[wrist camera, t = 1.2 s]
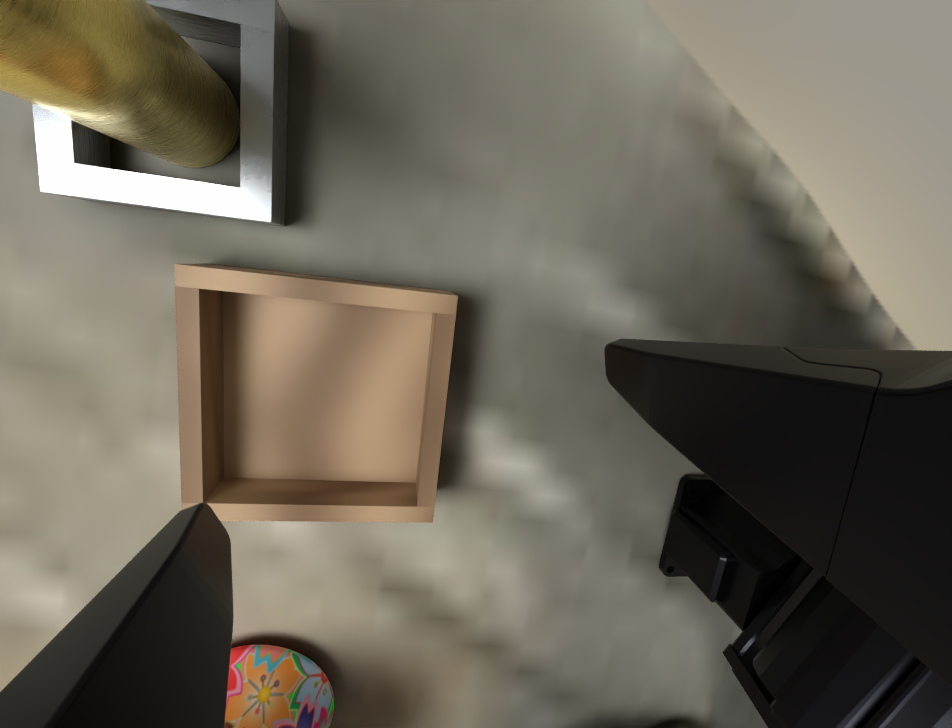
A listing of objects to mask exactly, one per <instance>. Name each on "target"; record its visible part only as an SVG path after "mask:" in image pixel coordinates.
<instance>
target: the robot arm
mask: <svg viewBox="0 0 952 728" xmlns="http://www.w3.org/2000/svg"><path fill="white" fill-rule="evenodd" d="M605 367H606V376H607V379H608V381H609V383H610V384H611V385H612V386H613V388H614V389H615V390H616V391H617V392H618V393H619V394H620V395H621V396H622V397H623V398H624V399H625V400H626V401H627V402H628V404H629V405H630V406H631V407H632V408H633V409H634V410H635V411H636V412H637V413H638V414H639V415H640V416H641V417H642V418H643V419H644V420H645V421H646V422H647V423H648V424H649V425H650V426H651V427H652V428H653V429H654V430H655V431H656V432H657V433H658V434H660V435H661V436H662V437H663V438H664V439H665V440H667V441H668V442H669V443H670V444H671V445H672V446H673V447H675V448H676V449H677V450H678V451H679V452H680V453H682V454H683V455H684V456H685V457H686V458H687V459H688V460H690V461H691V462H692V463H693V464H694V465H695V466H697V467H698V468H699V469H700V470H701V471H702V472H703V473H705V474H706V475H707V476H685V477H683V478H682V479H681V481H680V483H679V487H678V491H677V495H676V499H675V503H674V507H673V511H672V515H671V519H670V523H669V527H668V531H667V535H666V539H665V543H664V548H663V552H662V556H661V560H660V564H659V569H660V570H661V572H662V573H663V574H664V575H665V576H668V577H675V576H688V577H689V578H690V579H691V580H692V582H693V583H694V584H695V585H696V586H697V587H698V588H699V589H700V590H701V592H702V593H703V594H704V595H705V596H706V597H707V598H708V599H709V600H710V601H711V602H716V603H717V604H718V605H719V606H720V607H721V609H722V610H723V611H724V612H725V613H726V614H727V615H728V616H729V617H730V618H731V619H732V620H733V622H734V623H735V624H736V625H737V626H738V627H739V628H740V629H741V630H742V631H743V632H742V633H741V634H740V635H739V637H738V638H737V639H736V640H735V641H734V643H733V644H732V645H731V644H729V645H728V646H727V647H726V649H725V650H724V651H723V654H724V656H725V657H726V659H727V660H728V662H729V663H730V665H731V667H732V668H733V669H732V671H733V673H734V674H735V676H736V677H737V679H738V680H739V682H740V684H741V685H742V687H743V688H744V690H745V692H746V693H747V695H748V696H749V698H750V699H751V701H752V703H753V704H754V706H755V707H756V709H757V711H758V712H759V714H760V715H761V717H762V718H763V720H764V722H765V723H766V725H767V726H768V728H952V351H912V350H850V349H819V348H796V347H784V348H782V347H775V346H755V345H735V344H716V343H696V342H676V341H656V340H636V339H619V340H616V341H614V342H611V343H609V344H607V345H606V347H605ZM690 483H691V484H690ZM689 484H690V486H689V487H688V485H689ZM232 631H233V589H232V564H231V543H230V538H229V535H228V533H227V531H226V529H225V528H224V526H223V525H222V523H221V522H220V520H219V519H218V517H217V516H216V514H215V513H214V511H213V510H212V508H211V507H210V506H209V505H208V504H207V503H203V502H202V503H199V504H196V505H194V506H191V507H188V508H186V509H183V510H181V511H180V512H179V513H178V514H177V515H176V516H175V517H174V518H173V519H172V520H171V521H170V522H169V523H168V524H167V525H166V526H165V527H164V528H163V529H162V530H161V531H160V532H159V533H158V534H157V535H156V536H155V537H154V538H153V539H152V540H151V541H150V542H149V543H148V544H147V545H146V546H145V547H144V548H143V549H142V550H141V551H140V552H139V553H138V554H137V555H136V556H135V557H134V558H133V559H132V560H131V561H130V562H129V563H128V564H127V565H126V566H125V567H124V568H123V569H122V570H121V571H120V572H119V573H118V574H117V575H116V576H115V577H114V578H113V579H112V580H111V581H110V582H109V583H108V584H107V585H106V586H105V587H104V588H103V589H102V590H101V591H100V592H99V593H98V594H97V595H96V596H95V597H94V598H93V599H92V600H91V601H90V602H89V603H88V604H87V605H86V606H85V607H84V608H83V609H82V610H81V611H80V612H79V613H78V614H77V615H76V616H75V617H74V618H73V619H72V620H71V621H70V622H69V623H68V624H67V625H66V626H65V627H64V628H63V629H62V630H61V631H60V632H59V633H58V634H57V635H56V636H55V637H54V638H53V639H52V640H51V641H50V642H49V643H48V644H47V645H46V646H45V647H44V648H43V649H42V651H41V652H40V653H39V654H38V655H37V656H36V657H35V658H34V659H33V660H32V661H31V662H30V663H29V664H28V665H27V666H26V667H25V668H24V669H23V670H22V671H21V672H20V673H19V674H18V675H17V676H16V677H15V678H14V679H13V680H12V681H11V682H10V683H9V684H8V685H7V686H6V687H5V688H4V689H3V690H2V691H1V692H0V728H224V725H225V713H226V702H227V690H228V678H229V667H230V655H231V643H232Z"/></svg>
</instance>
